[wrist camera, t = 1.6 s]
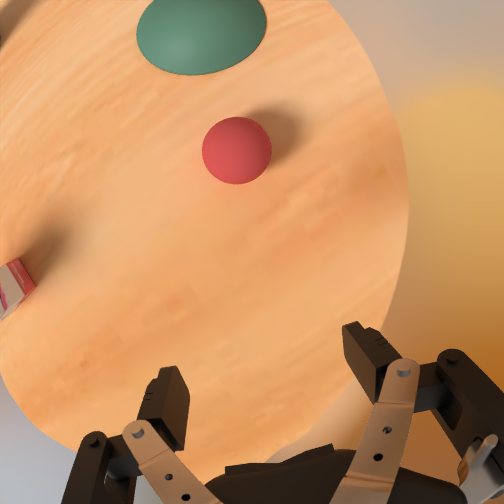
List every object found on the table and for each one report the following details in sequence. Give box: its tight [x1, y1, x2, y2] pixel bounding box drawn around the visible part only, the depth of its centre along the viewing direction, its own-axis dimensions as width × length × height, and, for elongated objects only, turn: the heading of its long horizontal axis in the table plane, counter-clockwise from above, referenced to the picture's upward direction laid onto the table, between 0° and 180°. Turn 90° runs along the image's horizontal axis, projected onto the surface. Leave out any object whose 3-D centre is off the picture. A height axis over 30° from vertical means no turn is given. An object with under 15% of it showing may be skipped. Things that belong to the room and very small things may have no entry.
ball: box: [202, 117, 271, 184], centre depth 24 cm, size 6×6×6 cm
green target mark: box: [136, 0, 266, 75], centre depth 22 cm, size 14×14×1 cm
